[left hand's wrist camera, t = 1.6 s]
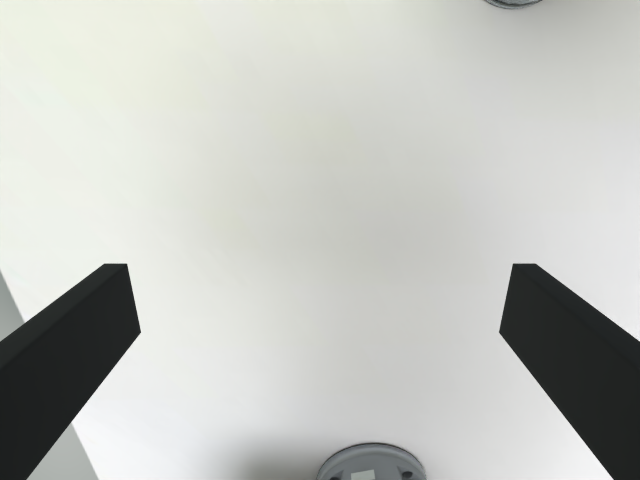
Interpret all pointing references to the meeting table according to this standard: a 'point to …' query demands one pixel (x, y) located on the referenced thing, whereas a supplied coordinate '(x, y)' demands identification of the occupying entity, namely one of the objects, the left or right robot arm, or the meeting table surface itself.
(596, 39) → the meeting table surface
